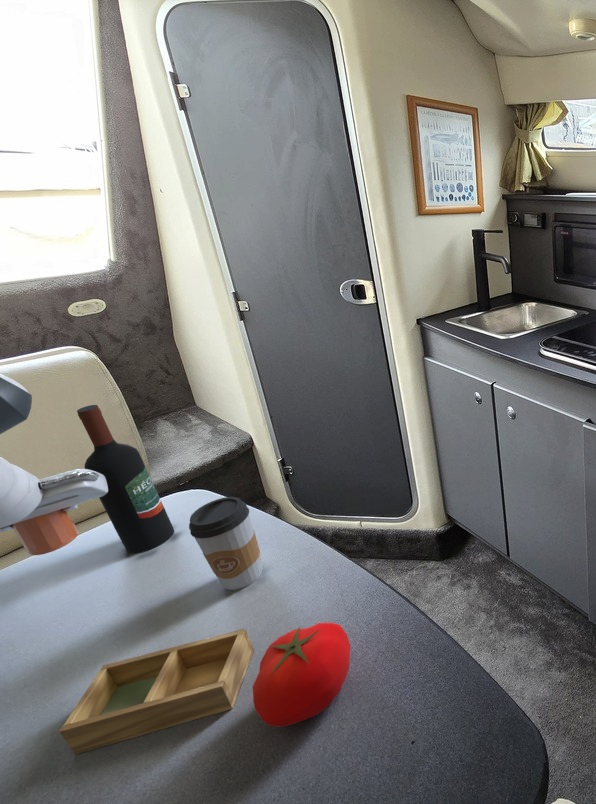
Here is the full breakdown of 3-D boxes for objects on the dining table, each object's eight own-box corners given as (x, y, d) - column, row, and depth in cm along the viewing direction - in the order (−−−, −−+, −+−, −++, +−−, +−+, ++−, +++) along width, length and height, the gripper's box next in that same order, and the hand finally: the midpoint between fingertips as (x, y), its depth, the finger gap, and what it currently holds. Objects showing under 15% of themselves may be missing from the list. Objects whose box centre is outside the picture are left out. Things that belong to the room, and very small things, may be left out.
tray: (232, 708, 68) (221, 686, 66) (74, 755, 63) (58, 732, 61) (254, 649, 76) (245, 628, 74) (116, 686, 71) (103, 664, 69)
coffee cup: (206, 601, 85) (175, 532, 79) (227, 565, 92) (199, 500, 87) (261, 589, 87) (234, 521, 81) (276, 555, 94) (252, 490, 89)
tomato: (377, 664, 73) (362, 613, 69) (302, 757, 62) (279, 703, 58) (320, 643, 76) (302, 593, 72) (240, 727, 65) (214, 673, 61)
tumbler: (18, 559, 83) (-11, 511, 79) (44, 534, 89) (18, 488, 85) (63, 550, 85) (37, 503, 81) (87, 526, 90) (63, 481, 87)
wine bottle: (138, 531, 102) (75, 403, 91) (181, 522, 104) (124, 396, 93) (117, 557, 95) (46, 422, 84) (163, 547, 97) (100, 414, 86)
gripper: (87, 452, 81) (117, 475, 92) (-112, 506, 69) (-51, 525, 80) (94, 487, 79) (124, 506, 90) (-108, 548, 68) (-46, 562, 79)
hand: (40, 515), depth 85 cm, fingers closed on tumbler, 6 cm apart
